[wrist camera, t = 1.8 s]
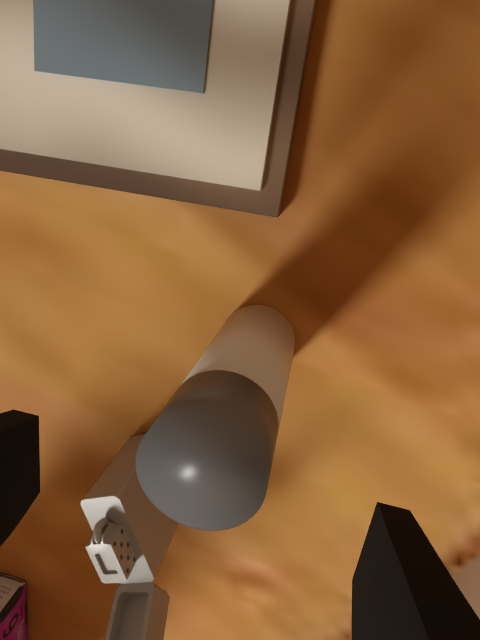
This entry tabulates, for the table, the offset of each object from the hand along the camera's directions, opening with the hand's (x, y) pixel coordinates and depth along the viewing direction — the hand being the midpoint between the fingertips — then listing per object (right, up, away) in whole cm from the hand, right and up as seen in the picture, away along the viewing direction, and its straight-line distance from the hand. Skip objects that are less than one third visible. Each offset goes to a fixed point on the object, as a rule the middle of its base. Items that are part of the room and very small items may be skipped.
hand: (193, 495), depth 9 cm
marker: (+2, +3, +9) cm, 9 cm away
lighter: (-3, -5, +12) cm, 13 cm away
